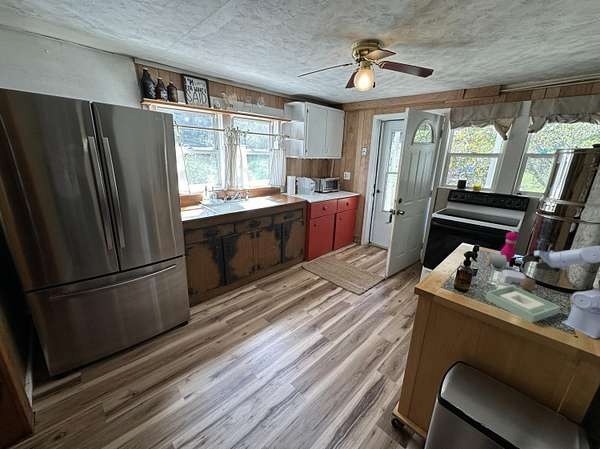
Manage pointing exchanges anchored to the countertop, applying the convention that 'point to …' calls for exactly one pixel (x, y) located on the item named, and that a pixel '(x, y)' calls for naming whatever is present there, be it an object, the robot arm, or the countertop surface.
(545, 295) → the countertop surface
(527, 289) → the peg
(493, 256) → the ceramic mug
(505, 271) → the charger
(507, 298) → the bore plate
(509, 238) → the pepper mill
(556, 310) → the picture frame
